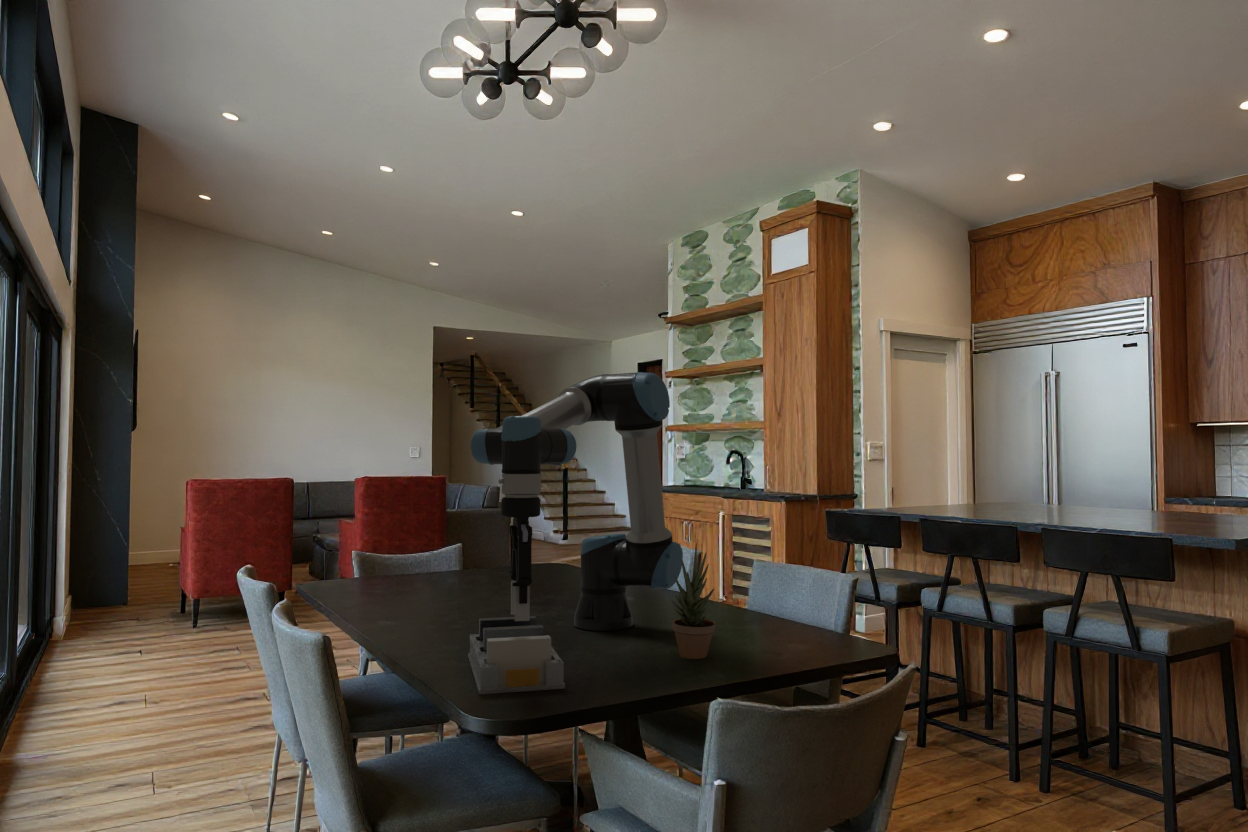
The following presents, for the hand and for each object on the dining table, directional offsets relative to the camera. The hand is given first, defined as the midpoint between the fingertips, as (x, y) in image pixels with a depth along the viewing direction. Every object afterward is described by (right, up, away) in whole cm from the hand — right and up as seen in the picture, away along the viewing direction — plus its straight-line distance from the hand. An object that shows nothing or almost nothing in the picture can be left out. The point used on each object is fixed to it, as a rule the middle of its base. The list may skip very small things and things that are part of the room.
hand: (520, 617), depth 159 cm
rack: (-2, -13, +9) cm, 16 cm away
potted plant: (+35, -14, +23) cm, 44 cm away
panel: (0, -12, -1) cm, 12 cm away
